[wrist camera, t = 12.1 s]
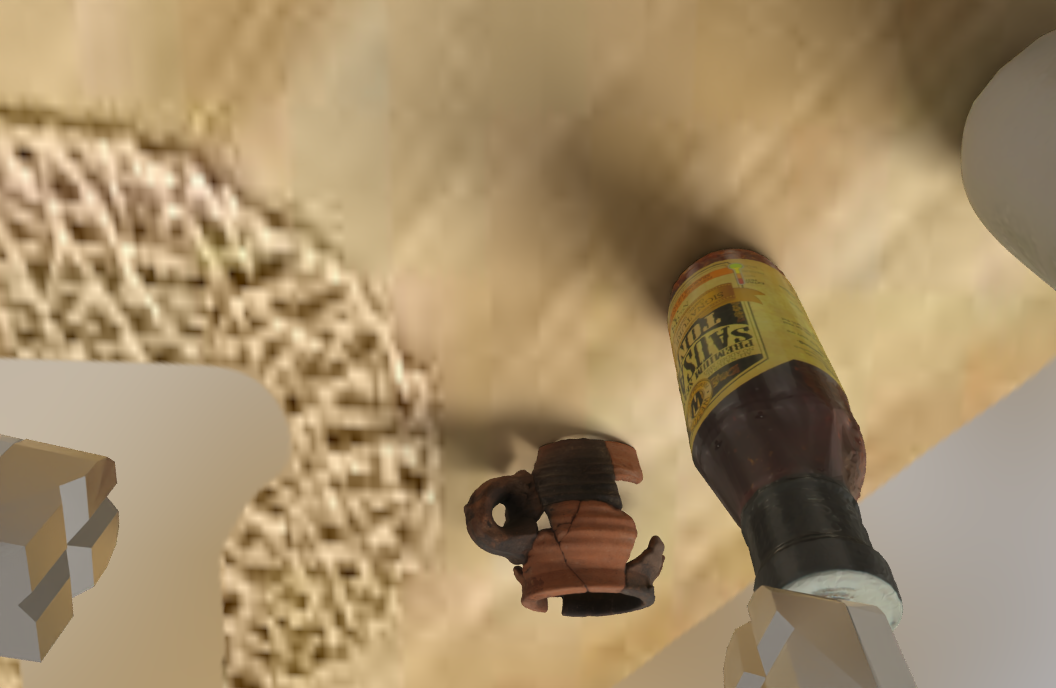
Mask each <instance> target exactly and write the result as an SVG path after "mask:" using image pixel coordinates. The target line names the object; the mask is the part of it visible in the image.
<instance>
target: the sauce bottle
mask: <svg viewBox="0 0 1056 688" xmlns="http://www.w3.org/2000/svg"><path fill="white" fill-rule="evenodd" d="M667 323H668V330H669V335H670V341H671V346H672V352H673V357H674V362H675V367H676V372H677V380H678V384H679V391H680V394H681V400H682V404H683V409H684V415H685V420H686V426H687V432H688V437H689V444H690V449H691V453H692V459H693V462H694V465H695V467H696V468H697V469H698V471H699V472H700V474H701V475H702V476H703V478H704V479H705V481H706V482H707V483H708V485H709V486H710V487H711V489H712V490H713V492H714V493H715V494H716V496H717V497H718V498H719V500H720V501H721V503H722V504H723V505H724V507H725V508H726V510H727V511H728V512H729V514H730V515H731V516H732V518H733V519H734V521H735V522H736V523H737V525H738V526H739V527H740V528H741V530H742V535H743V537H744V539H745V542H746V544H747V546H748V547H749V551H750V556H751V559H752V563H753V567H754V572H755V575H756V578H755V584H754V592H755V591H756V590H757V589H758V588H759V587H760V586H762V585H764V586H769V587H775V588H780V589H785V590H791V591H796V592H801V593H807V594H812V595H817V596H823V597H828V598H833V599H835V600H837V599H841V600H847V601H852V602H858V603H863V604H869V605H874V606H877V607H878V608H879V609H880V610H881V611H882V612H883V613H884V614H885V616H886V618H887V620H888V622H889V625H890V627H891V629H892V631H894V629H895V628H896V627H897V626H898V624H899V623H900V620H901V617H902V613H903V606H902V600H901V597H900V594H899V591H898V588H897V585H896V582H895V581H894V578H893V575H892V572H891V569H890V567H889V565H888V563H887V562H886V560H885V559H884V558H883V557H882V556H881V555H880V553H879V552H877V551H875V550H874V549H873V547H872V544H871V542H870V540H869V536H868V533H867V531H866V529H865V527H864V526H863V524H862V519H861V514H860V510H859V506H858V503H857V500H858V498H859V497H860V492H861V487H862V485H863V482H864V476H865V473H866V451H865V445H864V441H863V437H862V434H861V432H860V427H859V425H858V424H857V422H856V420H855V419H854V417H853V415H852V413H851V411H850V406H849V402H848V399H847V396H846V394H845V391H844V390H843V388H842V386H841V384H840V382H839V379H838V377H837V375H836V373H835V371H834V369H833V367H832V365H831V363H830V361H829V359H828V357H827V355H826V353H825V351H824V349H823V347H822V345H821V343H820V341H819V339H818V337H817V335H816V333H815V331H814V329H813V327H812V325H811V323H810V321H809V318H808V316H807V314H806V312H805V310H804V308H803V306H802V304H801V302H800V300H799V298H798V296H797V294H796V292H795V290H794V288H793V287H792V285H791V284H790V282H789V281H788V280H787V279H786V277H785V275H784V274H783V272H782V271H780V270H779V269H778V268H777V266H775V265H774V264H773V263H772V262H770V261H769V260H768V259H767V258H765V257H764V256H763V255H759V254H758V253H756V252H754V251H750V250H746V249H733V248H731V249H724V250H719V251H715V252H712V253H709V254H707V255H705V256H704V257H702V258H700V259H699V260H697V261H696V262H694V263H693V264H692V265H690V266H689V267H688V268H687V269H686V270H685V271H684V272H683V273H682V274H681V275H680V277H679V279H678V281H677V282H676V283H675V284H674V285H673V290H672V293H671V298H670V305H669V310H668V318H667Z"/></svg>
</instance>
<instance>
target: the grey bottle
mask: <svg viewBox="0 0 1056 688" xmlns="http://www.w3.org/2000/svg"><path fill="white" fill-rule="evenodd" d="M961 173H962V180H963V185H964V189H965V192H966V195H967V197H968V200H969V202H970V204H971V206H972V208H973V210H974V211H975V213H976V215H977V216H978V218H979V219H980V220H981V222H982V223H983V224H984V226H985V227H986V228H987V229H988V231H989V232H990V233H991V234H992V235H993V236H994V237H995V238H996V239H997V240H998V241H999V242H1000V243H1001V244H1002V245H1003V246H1004V247H1005V248H1006V249H1007V250H1008V251H1009V252H1010V253H1011V254H1013V255H1014V256H1015V257H1016V258H1017V259H1018V260H1019V261H1020V262H1022V263H1023V264H1024V265H1025V266H1026V267H1028V268H1029V269H1030V270H1031V271H1032V272H1034V273H1035V274H1036V275H1037V276H1039V277H1040V278H1041V279H1042V280H1043V281H1045V282H1046V283H1047V284H1048V285H1049V286H1051V287H1052V288H1053V289H1054V290H1055V291H1056V30H1054V31H1052V32H1049V33H1047V34H1045V35H1043V36H1041V37H1039V38H1038V39H1037V40H1035V41H1034V42H1033V43H1032V44H1030V45H1029V46H1028V47H1027V48H1025V49H1024V50H1023V51H1022V52H1021V53H1019V54H1018V55H1017V56H1016V57H1014V58H1013V59H1012V60H1011V61H1009V62H1008V63H1007V64H1006V65H1004V66H1003V67H1002V68H1000V69H999V70H998V72H997V73H996V74H995V75H994V77H993V78H992V79H991V80H990V82H989V83H988V84H987V86H986V87H985V88H984V89H983V91H982V92H981V93H980V94H979V96H978V97H977V98H976V99H975V101H974V102H973V104H972V107H971V109H970V112H969V114H968V116H967V119H966V123H965V127H964V131H963V139H962V149H961Z"/></svg>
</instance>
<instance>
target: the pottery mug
mask: <svg viewBox="0 0 1056 688" xmlns="http://www.w3.org/2000/svg"><path fill="white" fill-rule="evenodd" d="M615 480H616V481H619V480H622V481H628V482H632V483H635V484H638V483H640V482H641V481H642V480H643V474H642V470H641V468H640V465H639V461H638V458H637V454H636V450H635V449H634V448H633V447H630V446H628V445H626V444H622V443H619V442H612V441H603V440H595V439H586V438H581V439H567V440H560V441H557V442H554V443H550V444H547V445H544V446H542V447H540V448H539V450H538V456H537V461H536V463H535V465H534V470H533V472H532V474H529V473H528V472H527V471H526V470H520V471H518V472H517V473H515V475H512V476H502V477H498V478H493V479H490V480H488V481H486V482H485V483H483V484H482V485H481V486H480V487H479V488H478V489H476V490H475V491H474V493H473V494H472V495H471V497H470V500H469V502H468V504H466V505H465V506H464V512H465V516H466V525H467V530H468V533H469V535H470V537H471V538H472V540H473V541H474V542H475V543H476V544H477V545H478V546H479V547H480V548H481V549H483V550H485V551H487V552H489V553H492V554H495V555H499V556H503V557H506V558H507V559H508V560H509V561H510V562H511V563H512V564H515V565H520V564H523V568H522V567H520V566H515V567H514V568H513V571H514V575H515V577H516V579H517V580H518V581H519V582H520V583H521V585H522V598H521V603H522V605H523V606H524V607H526V608H528V609H530V610H533V611H537V612H544V613H545V612H547V610H548V601H547V598H548V597H562V599H563V606H562V615H563V616H572V617H586V616H607V615H614V614H622V613H627V612H632V611H635V610H640V609H643V608H646V607H649V606H651V605H652V604H653V603H654V601H655V596H654V586H653V582H654V580H655V579H656V578H657V577H658V576H659V574H660V572H661V570H662V567H663V562H664V560H665V557H664V555H662V554H663V551H664V544H663V542H662V541H661V539H660V538H659V537H658V536H653V537H652V538H651V539H650V542H649V545H648V548H647V549H646V550H644V551H643V553H642V554H641V555H639V556H638V557H637V558H635V559H633V560H631V561H630V562H628V563H626V562H627V561H628V559H629V557H630V553H631V550H632V549H633V546H634V542H635V540H636V537H637V530H636V526H635V523H634V521H633V519H632V518H631V517H630V516H629V515H628V514H626V513H625V512H623V511H621V509H622V503H621V499H620V495H619V493H618V488H617V485H616V483H615ZM499 503H501V504H503V505H504V506H505V507H506V510H505V517H506V521H505V523H504V526H503V527H500V526H499V525H497V524H496V522H495V521H494V519H493V516H492V510H493V508H494V507H495V506H496V505H498V504H499ZM543 512H545V513H546V514H547V516H548V519H549V521H550V525H551V527H552V528H549V529H542V530H540V531H538V526H537V523H536V522H537V521H538V520H539V518H540V517H541V515H542V514H543Z"/></svg>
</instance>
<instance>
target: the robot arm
mask: <svg viewBox="0 0 1056 688" xmlns="http://www.w3.org/2000/svg"><path fill="white" fill-rule="evenodd" d="M116 484H117V479H116V469H115V462H114V461H113V460H111V459H110V458H108V457H105V456H101V455H96V454H92V453H87V452H83V451H78V450H73V449H69V448H65V447H60V446H56V445H51V444H47V443H42V442H37V441H32V440H28V439H25V440H23V439H19V438H14V437H10V436H5V435H1V434H0V656H2V657H8V658H15V659H21V660H28V661H35V662H42V660H43V659H44V657H45V656H46V655H47V653H48V652H49V650H50V649H51V647H52V646H53V644H54V643H55V642H56V640H57V639H58V637H59V636H60V634H61V633H62V632H63V630H64V629H65V628H66V626H67V625H68V623H69V622H70V620H71V619H72V618H73V616H74V615H73V604H72V598H73V597H75V596H77V595H79V594H81V593H83V592H85V591H87V590H88V589H90V588H92V587H94V586H95V584H96V583H97V581H98V580H99V578H100V577H101V575H102V574H103V572H104V571H105V569H106V568H107V566H108V563H109V561H110V558H111V556H112V553H113V551H114V548H115V546H116V542H117V535H118V529H119V512H118V510H117V509H116V507H115V506H114V505H113V504H112V502H111V501H110V500H109V499H108V498H107V495H108V494H109V493H110V491H111V490H112V489H113V487H114V486H115V485H116ZM747 607H748V612H749V616H750V620H751V621H749V622H748V623H746V624H744V625H742V626H741V627H739V628H737V629H735V631H734V633H733V635H732V638H731V640H730V642H729V645H728V647H727V650H726V656H725V662H724V668H723V670H724V671H723V672H724V673H723V674H724V688H917V685H916V683H915V681H914V679H913V676H912V674H911V672H910V670H909V667H908V665H907V663H906V661H905V659H904V656H903V654H902V652H901V649H900V647H899V645H898V643H897V640H896V638H895V636H894V634H893V631H892V629H891V627H890V625H889V622H888V620H887V618H886V616H885V614H884V613H883V612H882V611H881V610H880V609H879V608H878V607H877V606H874V605H869V604H863V603H858V602H852V601H847V600H841V599H837V600H835V599H833V598H828V597H823V596H817V595H812V594H807V593H801V592H796V591H791V590H785V589H780V588H775V587H769V586H764V585H762V586H760V587H759V588H758V589H757V590H756V591H755V592H754V593H753V595H752V597H751V599H750V601H749V603H748V605H747Z"/></svg>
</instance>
